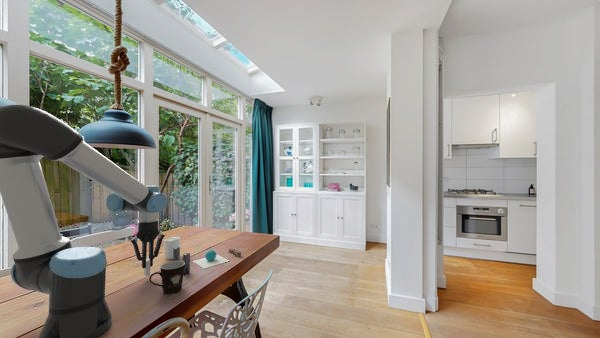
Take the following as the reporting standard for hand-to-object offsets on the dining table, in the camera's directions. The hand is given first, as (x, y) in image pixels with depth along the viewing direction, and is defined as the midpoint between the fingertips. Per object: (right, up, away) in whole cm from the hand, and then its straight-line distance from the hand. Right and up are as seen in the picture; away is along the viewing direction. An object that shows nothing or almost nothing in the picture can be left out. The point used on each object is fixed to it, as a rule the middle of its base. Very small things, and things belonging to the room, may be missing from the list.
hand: (147, 274), depth 100 cm
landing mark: (+20, -3, +21) cm, 29 cm away
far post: (+5, -2, +15) cm, 16 cm away
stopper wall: (+30, -3, +31) cm, 43 cm away
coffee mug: (+15, -2, -10) cm, 18 cm away
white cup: (-4, -3, +27) cm, 28 cm away
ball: (+19, 0, +22) cm, 29 cm away
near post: (+14, -2, +6) cm, 16 cm away
